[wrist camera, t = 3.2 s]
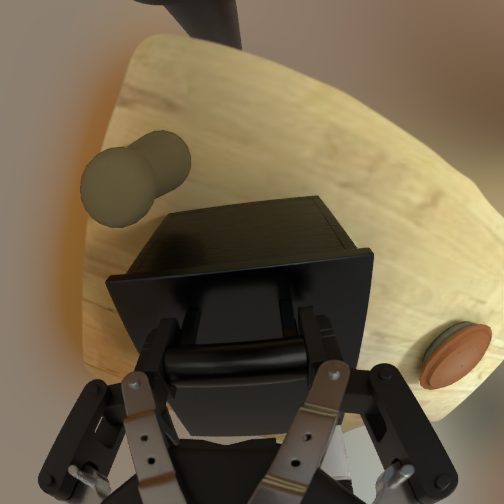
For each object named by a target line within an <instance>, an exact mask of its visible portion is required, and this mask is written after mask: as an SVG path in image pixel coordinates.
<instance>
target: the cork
mask: <svg viewBox="0 0 504 504" xmlns="http://www.w3.org/2000/svg"><path fill="white" fill-rule="evenodd" d="M190 167H191V156H190V153H189V150H188V147H187V145H186V144H185V143H184V141H183V140H182V139H181V138H180V137H179V136H177V135H176V134H174V133H172V132H168V131H164V130H162V131H153V132H151V133H148V134H146V135H144V136H143V137H141V138H140V139H138V140H137V141H135V142H134V143H132V144H131V145H129V146H128V147H127V148H125V147H117V148H110V149H107V150H105V151H103V152H101V153H99V154H97V155H96V156H95V157H94V158H93V159H92V160H91V161H90V162H89V164H88V165H87V166H86V168H85V170H84V172H83V174H82V179H81V186H80V193H81V200H82V202H83V205H84V207H85V209H86V211H87V212H88V213H89V215H90V216H91V217H92V218H93V219H94V220H96V221H97V222H98V223H100V224H102V225H105V226H108V227H111V228H123V227H126V226H129V225H132V224H134V223H137V222H138V221H139V220H140V219H141V218H143V217H144V216H145V215H146V214H147V213H148V211H149V209H150V208H151V206H152V204H153V202H154V199H156V198H158V197H160V196H162V195H164V194H166V193H168V192H170V191H172V190H174V189H176V188H177V187H178V186H180V185H181V184H182V183H183V182H184V180H185V179H186V177H187V176H188V173H189V170H190Z"/></svg>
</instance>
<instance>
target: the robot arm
mask: <svg viewBox="0 0 504 504" xmlns="http://www.w3.org/2000/svg"><path fill="white" fill-rule="evenodd" d="M180 332H181V329H180V326H179V323H178V321H177V319H176V318H162V319H161V320H160V323H159V326H158V328H153V329H152V330H151V332H150V333H149V334H148V335H147V337H146V340H145V342H144V345H143V348H142V350H141V353H140V356H139V359H138V361H137V364H136V367H135V370H134V372H131V373H129V374H127V375H126V376H125V377H124V378H123V380H122V382H121V383H117V384H113V385H108V386H107V384H106V383H105V382H104V381H103V380H100V379H95V380H92V381H90V382H89V383H88V384H87V385H86V386H85V387H84V389H83V391H82V392H81V394H80V396H79V398H78V399H77V401H76V403H75V405H74V407H73V408H72V410H71V412H70V414H69V416H68V417H67V419H66V421H65V423H64V425H63V427H62V429H61V431H60V433H59V434H58V436H57V438H56V441H55V442H54V444H53V446H52V448H51V450H50V452H49V454H48V457H47V459H46V460H45V463H44V465H43V467H42V469H41V471H40V473H39V476H38V483H39V486H40V488H41V489H42V490H43V491H44V492H45V493H47V494H49V495H51V496H53V497H55V498H56V499H57V500H59V501H61V502H63V503H65V504H366V503H365V502H363V501H362V500H361V499H359V498H358V497H356V496H355V495H354V494H353V493H351V492H350V491H349V490H347V489H346V488H345V487H343V486H342V485H341V484H340V483H338V482H337V481H336V480H335V479H333V478H332V477H331V476H330V475H328V474H327V473H326V472H325V471H323V470H322V469H321V466H322V463H323V461H324V458H325V456H326V453H327V450H328V448H329V445H330V442H331V439H332V436H333V433H334V431H335V428H336V425H337V422H338V419H339V416H340V413H341V412H344V413H356V414H360V415H361V417H362V419H363V422H364V424H365V426H366V428H367V431H368V433H369V435H370V437H371V440H372V442H373V444H374V447H375V449H376V451H377V454H378V456H379V458H380V461H381V462H382V465H383V467H384V470H385V471H384V472H383V473H382V474H381V475H380V476H379V477H378V479H377V481H376V498H375V501H374V502H373V503H372V504H434V503H436V502H438V501H440V500H442V499H444V498H446V497H448V496H449V495H450V494H452V493H453V492H454V490H455V489H456V487H457V484H458V474H457V472H456V470H455V468H454V466H453V464H452V462H451V460H450V458H449V456H448V455H447V453H446V451H445V449H444V447H443V445H442V443H441V442H440V440H439V438H438V436H437V434H436V432H435V431H434V429H433V427H432V426H431V424H430V422H429V420H428V418H427V417H426V415H425V413H424V411H423V410H422V408H421V406H420V405H419V403H418V401H417V400H416V398H415V396H414V395H413V393H412V391H411V390H410V388H409V386H408V385H407V383H406V381H405V380H404V378H403V377H402V375H401V373H400V372H399V370H398V369H397V368H396V367H395V366H393V365H391V364H387V363H382V364H378V365H376V366H374V367H373V368H372V369H371V371H368V370H357V369H353V368H351V367H349V366H348V365H347V364H346V363H345V362H344V360H343V358H342V355H341V352H340V348H339V345H338V342H337V339H336V336H335V333H334V330H333V327H332V324H331V321H330V320H329V319H328V318H327V317H326V316H325V315H324V314H323V315H315V312H314V308H313V306H304V307H298V334H299V335H303V336H304V339H305V343H306V349H307V357H308V379H307V380H306V381H307V387H308V395H307V398H306V400H305V402H304V404H303V405H301V406H300V407H299V409H298V411H297V413H296V415H295V418H294V420H293V422H292V424H291V426H290V428H289V430H288V433H287V435H286V437H285V439H284V441H283V443H282V444H278V443H276V438H266V439H251V440H247V441H243V442H239V443H235V444H231V445H221V444H217V443H213V442H209V441H205V440H195V439H194V440H193V439H180V440H179V438H178V436H177V433H176V431H175V428H174V425H173V423H172V420H171V417H170V415H169V411H168V409H167V407H166V402H167V400H175V395H176V390H177V387H171V386H169V384H168V383H167V381H166V378H165V374H164V368H163V359H164V353H165V350H166V348H167V347H168V346H169V345H177V343H178V339H179V335H180ZM101 417H103V418H102V420H101V422H100V424H99V426H98V428H97V430H96V433H95V429H96V427H97V425H98V423H99V421H100V419H101ZM125 433H126V436H127V440H128V444H129V448H130V452H131V456H132V460H133V463H134V467H135V471H136V474H134V476H132V477H131V478H130V479H129V480H127V481H126V482H125V483H124V484H123V485H121V486H120V487H119V488H118V489H116V490H115V491H114V492H113V493H111V494H110V492H111V488H110V484H109V481H108V479H107V477H108V474H109V472H110V469H111V467H112V464H113V462H114V459H115V457H116V454H117V452H118V450H119V447H120V445H121V442H122V440H123V438H124V435H125ZM109 494H110V495H109Z"/></svg>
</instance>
